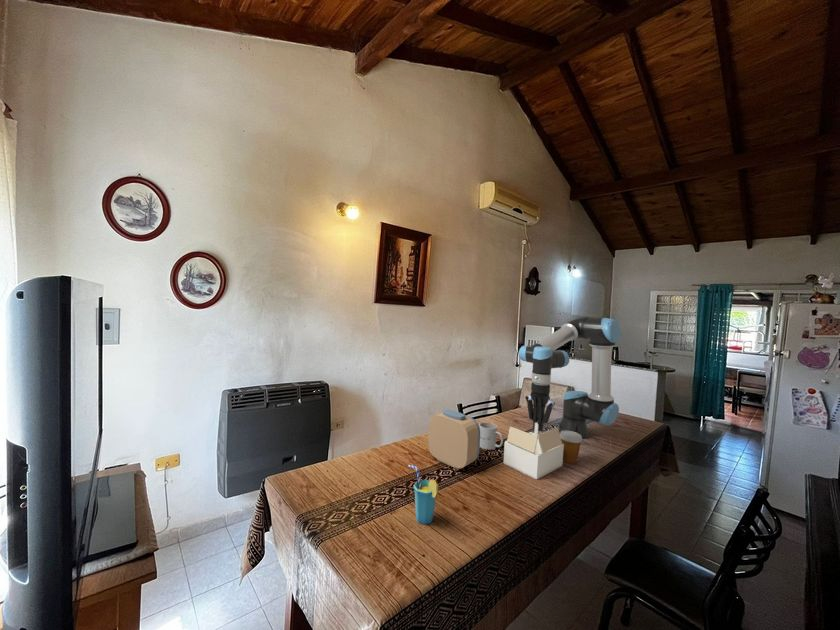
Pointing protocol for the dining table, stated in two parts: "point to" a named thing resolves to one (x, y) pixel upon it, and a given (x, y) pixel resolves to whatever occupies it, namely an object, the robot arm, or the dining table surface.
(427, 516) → the cup
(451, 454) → the alarm clock
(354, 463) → the dining table surface
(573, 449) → the disposable coffee cup
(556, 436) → the long flap
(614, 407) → the robot arm
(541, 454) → the carton
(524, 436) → the short flap
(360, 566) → the dining table surface
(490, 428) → the mug
